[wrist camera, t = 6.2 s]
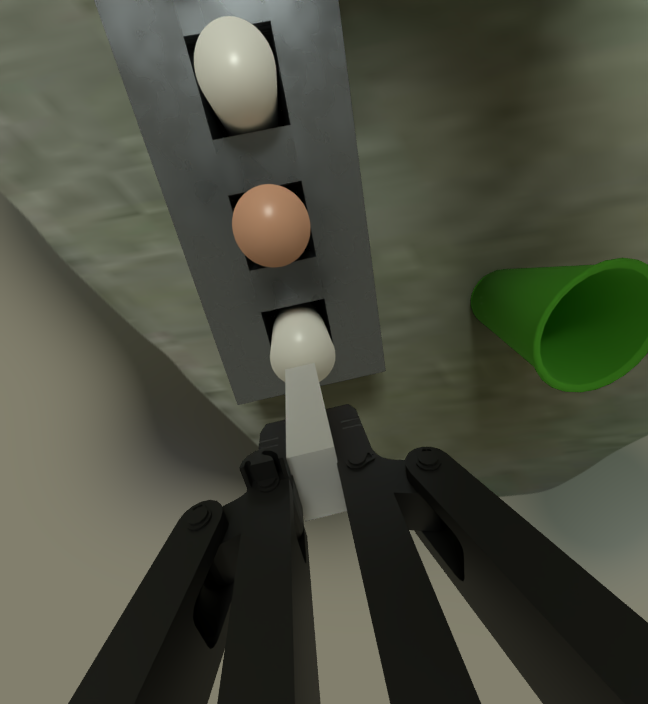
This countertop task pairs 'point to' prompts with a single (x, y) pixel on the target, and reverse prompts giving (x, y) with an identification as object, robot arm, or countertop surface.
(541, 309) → the cup
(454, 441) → the countertop surface
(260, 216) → the plug terracotta
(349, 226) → the grey socket block
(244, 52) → the white plug
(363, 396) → the countertop surface
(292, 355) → the white plug
